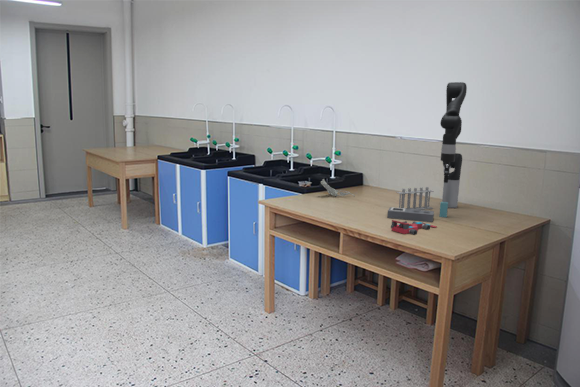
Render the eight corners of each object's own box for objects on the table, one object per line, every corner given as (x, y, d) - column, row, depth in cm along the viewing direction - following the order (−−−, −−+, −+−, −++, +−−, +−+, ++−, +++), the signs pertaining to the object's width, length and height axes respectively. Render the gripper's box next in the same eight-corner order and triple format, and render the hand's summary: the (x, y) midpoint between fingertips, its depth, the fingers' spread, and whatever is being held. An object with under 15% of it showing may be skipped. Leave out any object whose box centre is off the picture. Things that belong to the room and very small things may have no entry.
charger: (439, 215, 275) (440, 201, 273) (447, 216, 274) (448, 202, 272) (439, 216, 271) (440, 202, 270) (446, 217, 270) (448, 203, 268)
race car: (441, 218, 244) (410, 224, 229) (441, 229, 245) (409, 236, 230) (419, 212, 255) (387, 218, 240) (418, 223, 256) (386, 230, 241)
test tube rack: (399, 212, 282) (401, 189, 279) (394, 210, 286) (396, 188, 283) (432, 208, 293) (434, 187, 290) (427, 207, 296) (429, 186, 294)
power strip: (389, 214, 275) (390, 206, 274) (433, 218, 267) (433, 210, 267) (387, 217, 266) (387, 210, 265) (432, 222, 258) (433, 214, 257)
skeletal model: (355, 196, 326) (336, 173, 312) (348, 207, 323) (328, 184, 309) (340, 192, 338) (320, 170, 324) (332, 202, 336) (313, 180, 322)
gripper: (455, 154, 258) (452, 184, 261) (455, 151, 271) (453, 180, 274) (440, 153, 260) (438, 182, 263) (441, 151, 274) (439, 179, 277)
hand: (445, 181), depth 269 cm, fingers open, 8 cm apart
